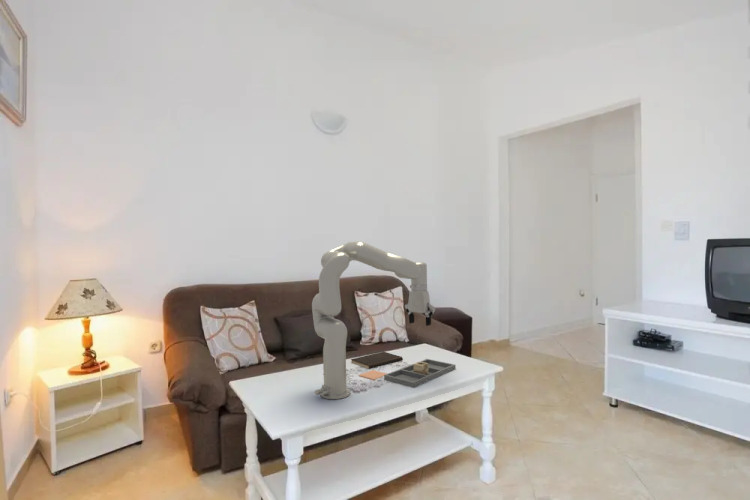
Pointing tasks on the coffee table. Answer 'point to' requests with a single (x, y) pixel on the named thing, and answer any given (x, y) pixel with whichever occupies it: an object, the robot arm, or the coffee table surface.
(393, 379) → the grey organiser
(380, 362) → the hardcover book
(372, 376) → the terracotta tile
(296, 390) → the coffee table surface
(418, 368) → the birch cube
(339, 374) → the robot arm
